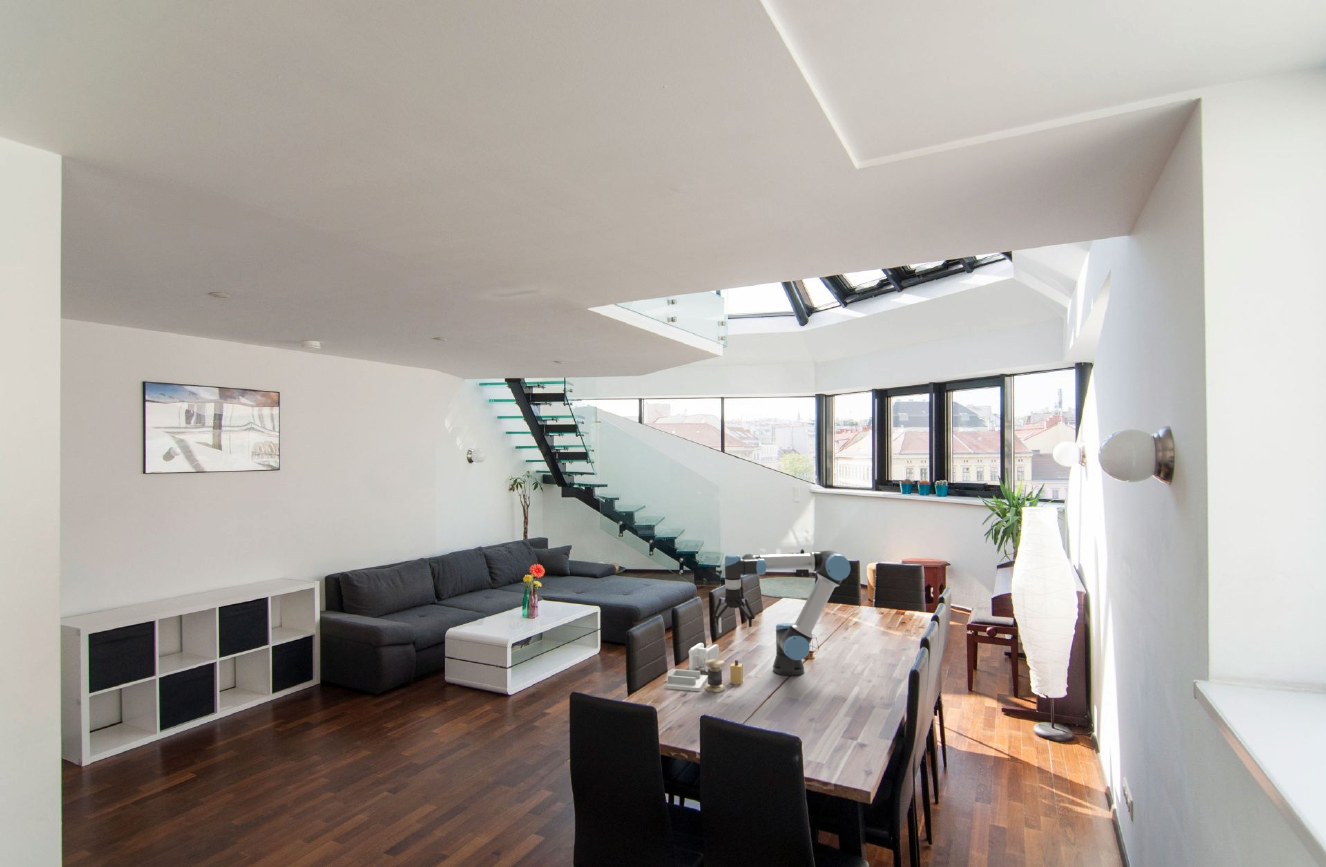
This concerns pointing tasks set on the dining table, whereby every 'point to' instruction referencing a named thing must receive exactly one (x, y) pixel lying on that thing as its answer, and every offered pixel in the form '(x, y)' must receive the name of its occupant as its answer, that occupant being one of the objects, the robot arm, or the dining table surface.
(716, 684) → the bobbin
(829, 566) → the robot arm
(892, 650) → the dining table surface
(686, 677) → the grey square tray
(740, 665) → the yellow bottle
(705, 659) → the cable organizer
